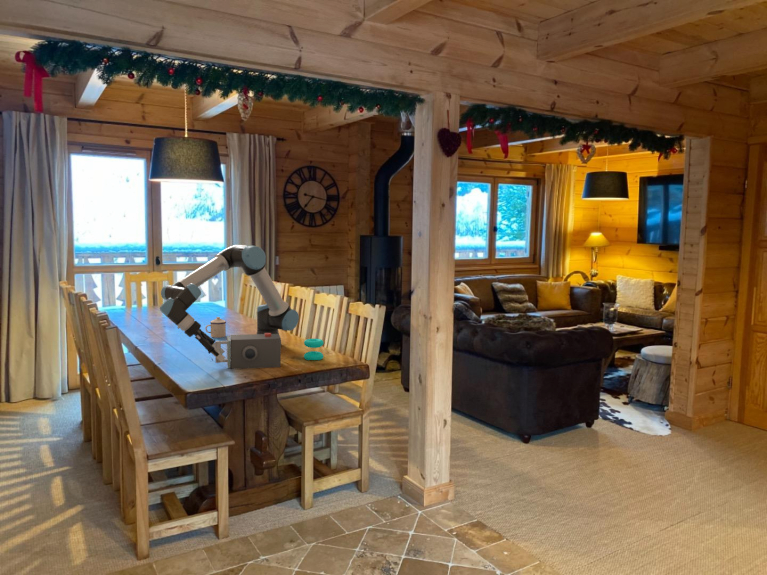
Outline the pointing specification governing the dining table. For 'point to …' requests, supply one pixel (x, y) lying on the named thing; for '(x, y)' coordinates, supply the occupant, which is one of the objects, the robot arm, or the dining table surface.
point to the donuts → (313, 344)
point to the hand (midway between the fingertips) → (223, 356)
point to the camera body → (255, 351)
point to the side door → (218, 347)
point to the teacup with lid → (217, 328)
